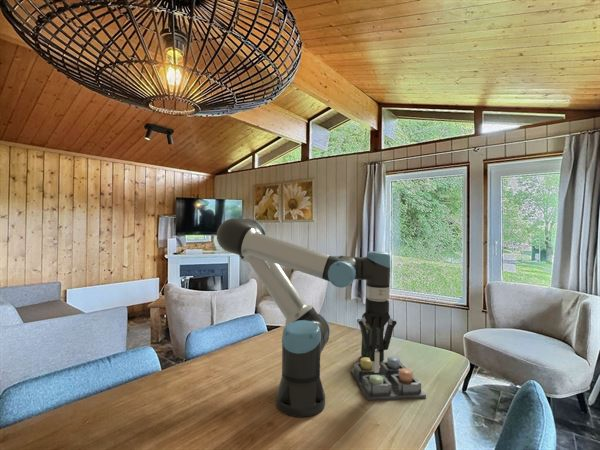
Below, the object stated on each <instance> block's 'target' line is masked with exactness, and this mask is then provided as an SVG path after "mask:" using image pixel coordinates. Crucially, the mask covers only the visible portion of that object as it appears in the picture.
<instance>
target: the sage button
mask: <svg viewBox="0 0 600 450" xmlns="http://www.w3.org/2000/svg"><path fill="white" fill-rule="evenodd" d="M370 383H371V384H383V377H381V376H379V375H371V376H370Z"/></svg>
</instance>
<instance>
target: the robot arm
mask: <svg viewBox="0 0 600 450" xmlns="http://www.w3.org/2000/svg"><path fill="white" fill-rule="evenodd" d="M217 228H218V229H217V231H216V241H217V243H218V246H219V247H220V248H222V250H224V251H226V252H228V253H232V254H235V255H238V256H239V258H240V259H241V261H242V262H245V263H249V265H250V266H251V268H252V269H253V271H254V273H255V274H256V276H258V279H259V280H260V282H261V283H262V285H263V286H264V287H265V289H266V290H267V293H268V294H269V295H270V296H271V298H272V300H273V301H274V303H275V304H276V306H277V308H278V309H279V311H280V312H281V314H282V315H283V317H284V318H285V323H284V324H285V325H284V328H283V330H282V335H281V345H282V347H281V349H282V350H281V379H280V380H279V384H278V388H277V390H276V394H275V406H276V408H277V410H279V412H281V413H283V414H285V415H288V416H290V417H297V418H304V417H305V418H306V417H312V416H315V415H318V414H319V413H321V412H322V411H323V410H324V409H325V407H326V393H325V390H324V387H323V383H322V380H321V355H322V352H323V350H324V348H325V347H326V345H327V344H328V341H329V339H330V334H331V333H330V331H331V330H330V328H331V327H330V325H329V321H328V320H327V319H326V317H324V316H323V315H322V314H320V313H318V312H317V311H316V309H315V308H314V306H313V305H311V304H307V303H306V302H305V301H304V299H303V297H302V296H301V295H300V293H299V292H298V290H297V289H296V287H295V286H294V285H293V283H292V282H291V280H290V278H289V277H288V275H287V274H286V272H285V271H284V270H283V269H282V268H283V267H285V268H288V269H291V270H294V271H296V272H301V273H304V274H306V275H310V276H312V277H315V278H319V279H322V280H324V281H327V282H330V284H332V285H333V286H335V287H336V288H342V289H343V288H346V287H348V286H350V285H352V283H354V281H355V280H360V281H361V280H362V281H365V282H366V283H365V297H366V299H365V308H364V310H365V312H364V313H365V314H364V313H363V314H364V317H363V318H362V317H361V318H358V319H356V322H357V324H358V325H359V328H360V333H361V340H362V339H363V343H364V347H365V348H366V349H367V350H369V351H370V357H369V358H370V360H371V362H372V370H373V371H374V373H379V368H380V363H379V361H382V353H383V352H385V351H387V350H388V349H389V347H390V343H391V339H392V336H393V332H394V328H395V327H396V325H397V320H395V319H394V318H391V315H390V301H389V299H390V288H391V287H390V283H391V282H390V281H391V280H390V279H391V255H390V254H389V252H386V251H372V250H370V251H367V253H366V256H362V257H360V256H347V255H346V256H345V255H333V256H332V255H330V254H327V253H323V252H320V251H317V250H314V249H310V248H307V247H304V246H301V245H298V244H295V243H291V242H288V241H285V240H281V239H278V238H275V237H272V236H269V235H266V234H267V233H266V230H265V228H264V227H263V225H262V224H261V223H260V222H258V221H256V220H254V219H252V218H235V217H234V218H229V219H227V220H224V221H223V222H222V223H221V224H220V225H219V226H218V227H217ZM281 266H283V267H281ZM365 321H367V323H368V324H369V328H370V338H369V341H368V336H367V332H366V327H365V324H366V323H365ZM385 326H386V329H385ZM376 328H377V349H375V341H376ZM383 331H384V332H383ZM383 339H384V340H383ZM382 362H383V361H382Z"/></svg>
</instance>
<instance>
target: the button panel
mask: <svg viewBox="0 0 600 450" xmlns="http://www.w3.org/2000/svg"><path fill="white" fill-rule="evenodd" d="M402 368H404V369H408V368H406V366H405V365H404V364H403V363H402V362H401V361H400V369H402ZM350 373H351V374H352V376H353V378H354V379H355V381H356V383H357V384H358V386H359V388H360V390H361V392H362V393H363V395H364V397H365V398H366V400H367V401H387V400H388V401H389V400H393V401H394V400H407V399H408V400H409V399H410V400H411V399H412V400H414V399H426V398H427V395H426V393H425V392H424V391H423V390H422V382H421V381H420V380H418V378H417V377H416V376H414V374H413V382H412V383H402V382H400V381H399V369H389V368H388V367H387V361H382V362H380V363H379V373H374V371H373V370H362V369H361V361H360V362H355V363H353V368H350ZM371 375H379V376H381V377H383V384H371V383H370V376H371Z"/></svg>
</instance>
